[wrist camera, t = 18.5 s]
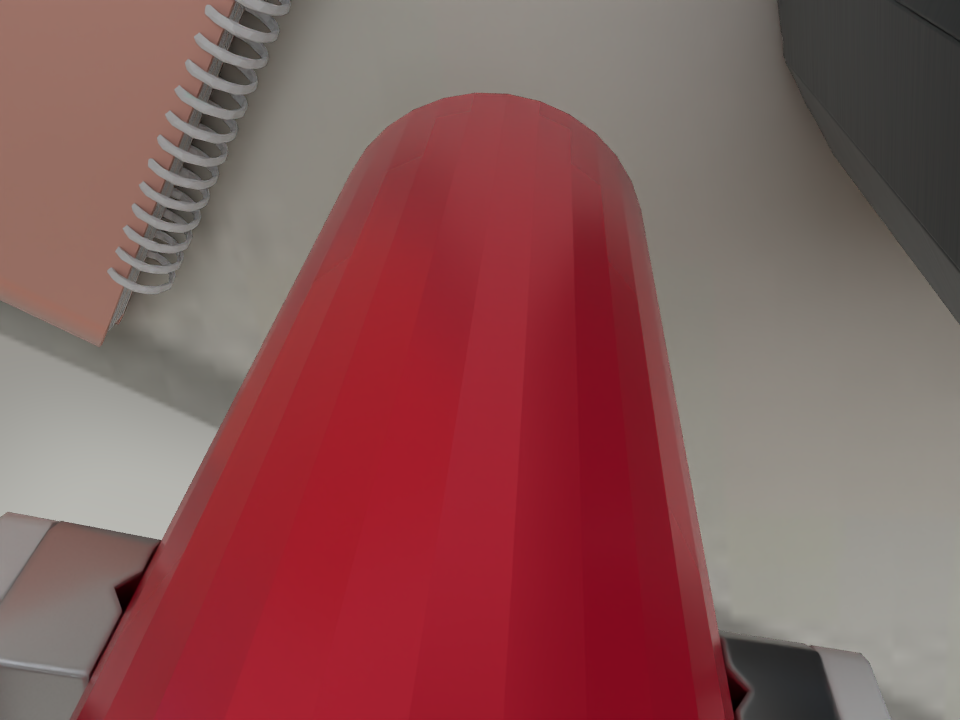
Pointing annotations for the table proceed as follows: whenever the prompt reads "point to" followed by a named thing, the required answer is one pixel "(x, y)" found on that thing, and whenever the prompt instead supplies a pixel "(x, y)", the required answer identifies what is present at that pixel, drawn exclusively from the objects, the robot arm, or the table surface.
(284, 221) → the table surface
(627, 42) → the table surface
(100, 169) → the notebook
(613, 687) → the bottle
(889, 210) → the trash bin
